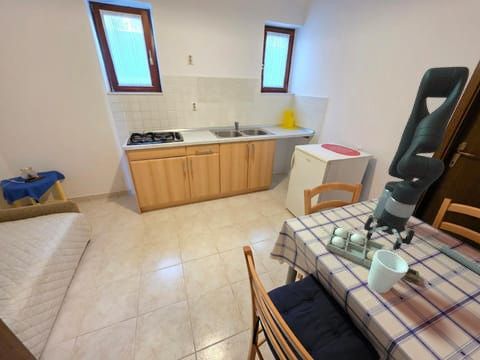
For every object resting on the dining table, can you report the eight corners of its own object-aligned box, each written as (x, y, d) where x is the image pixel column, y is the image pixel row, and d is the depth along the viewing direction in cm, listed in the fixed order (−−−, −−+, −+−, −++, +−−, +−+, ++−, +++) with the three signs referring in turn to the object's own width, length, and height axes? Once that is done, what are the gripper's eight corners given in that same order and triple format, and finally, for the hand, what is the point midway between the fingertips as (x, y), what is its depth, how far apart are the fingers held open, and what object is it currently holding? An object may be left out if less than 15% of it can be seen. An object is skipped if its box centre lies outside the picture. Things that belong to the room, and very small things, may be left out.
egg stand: (401, 268, 79) (403, 265, 78) (416, 275, 76) (418, 271, 76) (402, 277, 75) (404, 274, 74) (417, 284, 73) (420, 281, 72)
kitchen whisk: (491, 286, 74) (502, 274, 71) (394, 230, 100) (399, 220, 97) (497, 279, 76) (507, 268, 73) (401, 226, 102) (406, 216, 100)
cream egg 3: (349, 238, 92) (353, 230, 90) (361, 242, 90) (365, 234, 88) (348, 244, 88) (351, 236, 86) (360, 249, 86) (364, 241, 84)
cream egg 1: (334, 232, 95) (337, 224, 93) (345, 236, 93) (348, 228, 91) (332, 238, 92) (335, 230, 89) (344, 243, 89) (347, 234, 87)
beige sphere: (365, 254, 84) (369, 246, 82) (379, 260, 82) (383, 251, 79) (364, 262, 80) (368, 253, 78) (378, 268, 78) (383, 259, 75)
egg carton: (332, 230, 97) (333, 226, 96) (382, 250, 87) (384, 245, 86) (325, 249, 87) (327, 244, 85) (381, 273, 77) (384, 268, 75)
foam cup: (378, 300, 67) (393, 275, 61) (357, 276, 75) (368, 252, 69) (399, 293, 70) (415, 268, 64) (376, 271, 77) (389, 247, 71)
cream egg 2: (331, 240, 90) (334, 232, 88) (343, 245, 88) (346, 237, 86) (329, 247, 87) (332, 239, 84) (341, 252, 84) (344, 244, 82)
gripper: (422, 211, 68) (402, 245, 76) (374, 198, 75) (361, 230, 83) (425, 223, 62) (404, 258, 70) (373, 208, 69) (359, 241, 77)
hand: (380, 243), depth 76 cm, fingers open, 8 cm apart
